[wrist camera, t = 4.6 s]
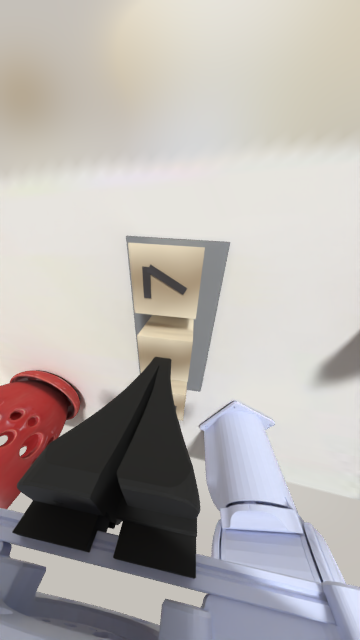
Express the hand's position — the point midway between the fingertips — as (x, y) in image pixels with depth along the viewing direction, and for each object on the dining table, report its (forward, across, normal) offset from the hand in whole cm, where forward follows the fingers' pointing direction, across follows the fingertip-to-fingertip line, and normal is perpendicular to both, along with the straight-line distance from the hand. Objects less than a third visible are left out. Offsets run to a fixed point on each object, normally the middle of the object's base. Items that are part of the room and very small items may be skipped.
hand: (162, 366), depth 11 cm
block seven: (+5, 0, -7) cm, 8 cm away
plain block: (+5, 0, 0) cm, 5 cm away
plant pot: (+6, +22, +15) cm, 27 cm away
